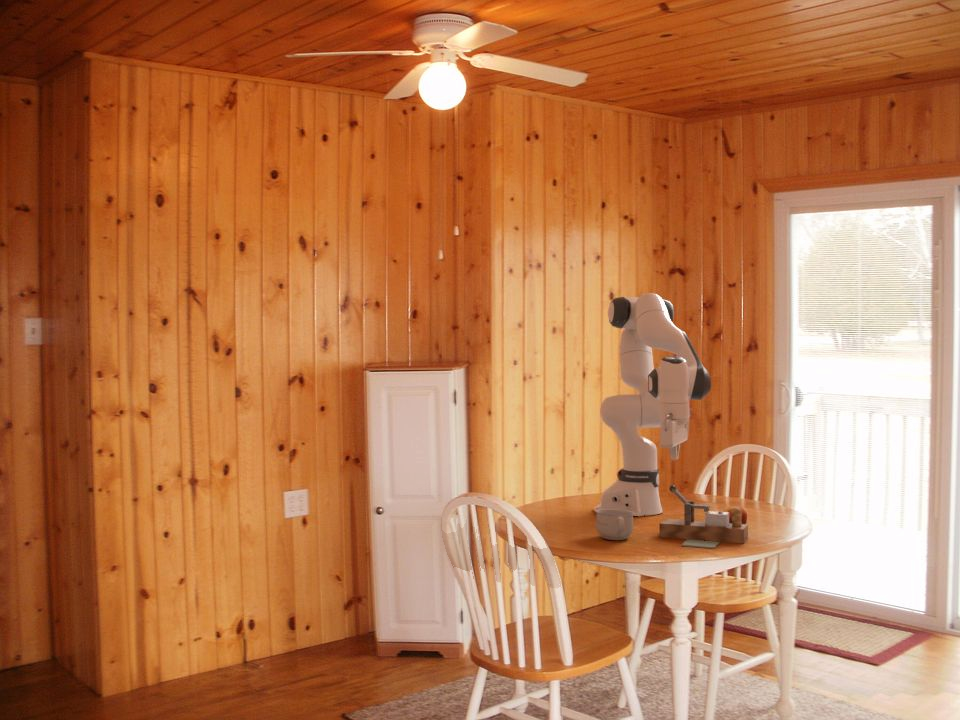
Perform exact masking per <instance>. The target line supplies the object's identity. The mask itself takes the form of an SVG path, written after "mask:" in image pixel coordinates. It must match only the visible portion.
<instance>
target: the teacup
mask: <svg viewBox="0 0 960 720" xmlns="http://www.w3.org/2000/svg"><path fill="white" fill-rule="evenodd" d="M595 513H596V522H595V523H596V531H597V533H598V534H599V535H600V536H601V537H602V538H603V539H604V540H605V539H606V540H610V541H623V540H624V541H625V540H627V538H628V537H630V536H631V535H632V533H633V528H634V517H633V516H634V513H633V512H631V511H626V510H618V509H601V510H597V511H596V512H595Z"/></svg>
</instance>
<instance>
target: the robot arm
mask: <svg viewBox="0 0 960 720" xmlns="http://www.w3.org/2000/svg"><path fill="white" fill-rule="evenodd" d="M607 309H608V310H607V317H608V323H609V324H610V325H611V326H612V327H614V328H617V329H623V330H622V332H621V336H620V342H619V363H620V364H619V365H620V378H621V380H622V381H623V382H624V383H625V384H626V385H627V386H628V387H631V388H633V389H634V390H636V391H637V392H638V393H639V394H637V393H636V394H616V395H611V396H607V397H606V398H604V400H603V401H602V403H601V404H600V410H599V414H600V418H601V420H602V422H603V424H605V425H606V426H607V427H608V428H610V429H611V430H612V431H613V432H614V434H616V436H617V437H618V440H619V443H620V445H621V449H622V460H623V461H622V462H623V463H622V464H623V466H622V467H621V468H620V469H619V470H618V471H617V473H616V476H617V479H618V480H616V481H615V482H614V483H612V484H611V485H610V486H609V487H607V488H606V489H605V490H604V491H603V492H602V494H601V498H600V504H598V505H595V506H594V507H593V511H594V510H596V511H597V510H601V509H618V510H626V511H631V512H633V513H634V516H638V517H643V516H644V515H645V516H653V515H655V516H656V515H658V514H660V515H661V513H662V514H663V512H664V511H663V508H662V504H661V499H660V494H659V484H660V474H659V473H660V471H659V469H658V449H657V446H656V444H655V443H654V442H653V441H652V440H650V439H648V438H647V437H644V436H642V435H641V434H639V432H638V429H640V428H660V433H659V442H660V443H659V444H660V447H661V448H668V451H669V457H670V461H676V460H678V459H679V458H680V449H681V444H682V443H684V442H686V441H688V438H689V429H690V417H691V416H692V409H691V408H690V400H697V401H700V400H702V399H704V398H705V397H706V396H707V395H709V393H710V392H711V388H712V382H711V375H710V374H709V372H708V370H707V369H706V367H705V366H704V365H703V363H702V362H701V360H700V358H699V355H698V353H697V352H696V350H695V348H694V346H693V344H692V342H691V340H690V339H689V337H688V335H687V334H686V332H685V331H683V330H681V329H680V328H678V327H677V326H676V325H675V324H674V323H673V322H674V317H675V316H674V315H675V312H674V311H675V310H674V306H673V304H672V302H671V301H670V300H666V299H664V298H662V297H661V296H660V295H658V294H657V293H654V292H646V293H643V294H641V295H640V296H633V297H632V296H631V297H629V296H627V297H625V296H620V297H615V298H614V299H612V300H611V301H610V303H609V306H608V308H607ZM653 349H656V350H660V351H665V352H669V353H672V354H674V355H676V356H670V355H669V356H665V357H662V358H661V359H660V360H659V365H658V367H656V368H655V366H654V365H655V364H654V355H653Z"/></svg>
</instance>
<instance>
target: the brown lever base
mask: <svg viewBox="0 0 960 720" xmlns="http://www.w3.org/2000/svg"><path fill="white" fill-rule="evenodd" d="M687 501H688V502H689V503H691V504H695V501H694V500H687ZM683 504H684V503H683ZM691 504H684V505H683V507H684V510H683V511H684V515H683V516H684V519H675V518H674V519H673V518H665V519H663V520H662V521H660V522H659V525H658V526H659V538H665V539H666V538H669V539H680V540H687V539H689V540H702V541H704V540H705V541H714V542H717V541H718V542H719V543H721V542H722V543H732V544H745V543H746V542H747V540H748V539H749V524H747V523H746V524H742V519H741V516H742V511H741V509H739V508H734V509H733V510H732V511H731V514H732V523H729V525H728V526H727V527H716V526H705V521H701V520H695V508H691Z"/></svg>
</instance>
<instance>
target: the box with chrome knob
mask: <svg viewBox="0 0 960 720" xmlns="http://www.w3.org/2000/svg"><path fill="white" fill-rule="evenodd" d="M723 511H724V510H721V511H715V510H709V512H705V513H704V520H705V521H704V522H705V526H716V527H727V526H728V525H729V512H723Z"/></svg>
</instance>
